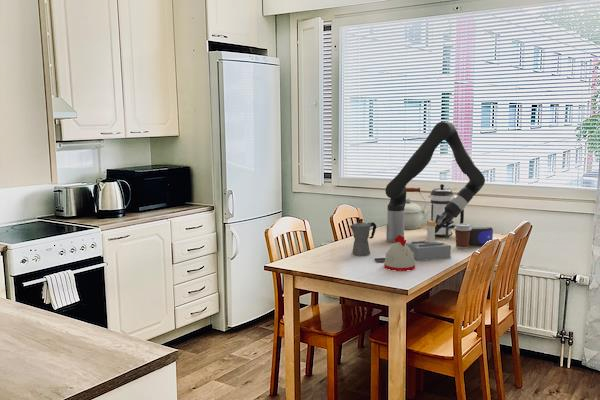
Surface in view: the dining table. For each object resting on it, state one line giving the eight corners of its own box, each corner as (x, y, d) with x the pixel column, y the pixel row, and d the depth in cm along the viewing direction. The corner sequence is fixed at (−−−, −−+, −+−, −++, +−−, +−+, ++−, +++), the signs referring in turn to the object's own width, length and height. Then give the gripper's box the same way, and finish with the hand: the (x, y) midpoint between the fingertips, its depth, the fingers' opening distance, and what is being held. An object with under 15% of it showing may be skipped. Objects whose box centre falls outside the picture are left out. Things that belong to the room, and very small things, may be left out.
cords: (376, 262, 272) (376, 260, 271) (374, 260, 276) (374, 258, 275) (410, 261, 274) (410, 258, 274) (407, 258, 278) (407, 256, 278)
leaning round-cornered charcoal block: (465, 246, 303) (466, 229, 302) (462, 244, 307) (462, 227, 306) (495, 245, 305) (495, 228, 303) (491, 243, 309) (492, 226, 308)
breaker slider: (431, 241, 287) (431, 220, 285) (437, 244, 281) (437, 222, 280) (424, 242, 285) (424, 220, 284) (430, 244, 280) (430, 222, 279)
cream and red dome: (395, 272, 254) (395, 239, 252) (378, 265, 266) (379, 234, 264) (421, 269, 259) (421, 236, 257) (404, 262, 272) (404, 231, 270)
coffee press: (435, 239, 322) (437, 186, 317) (423, 233, 337) (424, 183, 333) (463, 237, 326) (465, 185, 321) (450, 232, 341) (451, 182, 337)
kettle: (389, 229, 351) (390, 189, 348) (390, 224, 369) (390, 185, 366) (431, 230, 347) (432, 189, 344) (429, 224, 365) (430, 186, 362)
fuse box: (435, 251, 293) (435, 238, 292) (450, 257, 280) (451, 243, 279) (403, 254, 288) (404, 240, 287) (417, 260, 274) (418, 246, 273)
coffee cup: (456, 244, 308) (457, 222, 306) (473, 246, 303) (474, 224, 301) (450, 247, 301) (451, 225, 299) (467, 249, 295) (468, 227, 294)
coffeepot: (354, 257, 282) (354, 221, 280) (345, 253, 291) (345, 218, 288) (381, 254, 289) (381, 218, 286) (371, 250, 297) (371, 216, 295)
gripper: (444, 199, 290) (422, 224, 288) (459, 203, 278) (436, 229, 276) (453, 209, 292) (431, 234, 291) (468, 213, 280) (445, 239, 278)
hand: (433, 231), depth 283 cm, fingers closed
